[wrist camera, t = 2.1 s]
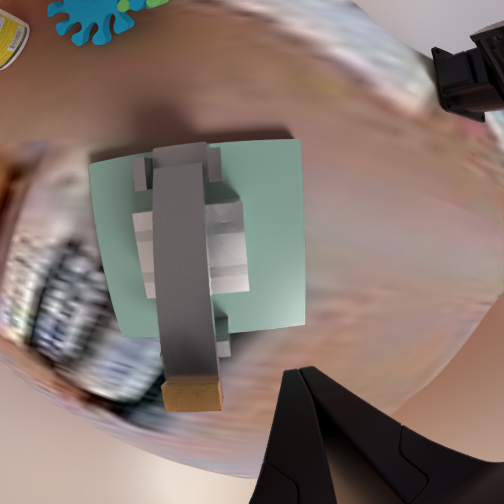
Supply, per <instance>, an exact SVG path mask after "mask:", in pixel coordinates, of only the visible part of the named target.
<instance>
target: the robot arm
mask: <svg viewBox="0 0 504 504" xmlns="http://www.w3.org/2000/svg"><path fill="white" fill-rule="evenodd" d="M470 38H471V39H472V41H473V42H475V44H476V46H477V47H476V48H473V49H470V50H467V51H465V52H464V51H462V52H460V53H457V54H454V55H453V54H451V53H449V52H447V51H444V50H442V49H439V48H437V47H434V48H432V49H431V51H432V55H433V60H434V64H435V69H436V73H437V78H438V83H439V89H440V95H441V101H442V107H443V109H444V110H445V111H446V112H449V113H453V114H456V115H459V116H463V117H466V118H469V119H472V120H475V121H477V122H480V123H483V122H485V113H484V112H489V111H501V110H504V21H501V22H498V23H495V24H493V25H490V26H487V27H485V28H483V29H481V30H479V31H478V32H476V33H474V34H472V35H471V36H470ZM447 106H448V107H447ZM249 504H504V462H489V461H484V460H480V459H477V458H475V457H472V456H469V455H465V454H463V453H460V452H458V451H455V450H453V449H450V448H447V447H445V446H443V445H440V444H438V443H436V442H434V441H431V440H429V439H427V438H426V437H424V436H422V435H420V434H418V433H416V432H414V431H412V430H411V429H409V428H408V427H406V426H404V425H402V426H401V423H399V422H397V421H396V420H394V419H393V418H391V417H389V416H388V415H386V414H385V413H383V412H381V411H380V410H378V409H377V408H375V407H374V406H372V405H370V404H369V403H367V402H366V401H364V400H363V399H361V398H360V397H358V396H357V395H355V394H354V393H352V392H351V391H349V390H348V389H346V388H345V387H343V386H342V385H340V384H339V383H337V382H336V381H334V380H333V379H331V378H330V377H328V376H327V375H326V374H324V373H323V372H321V371H320V370H318V369H317V368H316V367H314V366H308V367H302V368H300V369H299V370H298V369H290V370H285V371H284V372H283V377H282V382H281V387H280V392H279V396H278V401H277V405H276V410H275V414H274V419H273V423H272V427H271V431H270V436H269V440H268V444H267V448H266V452H265V456H264V460H263V463H262V467H261V470H260V474H259V477H258V480H257V484H256V487H255V490H254V492H253V495H252V497H251V499H250V501H249Z"/></svg>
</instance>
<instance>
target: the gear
mask: <svg viewBox="0 0 504 504" xmlns="http://www.w3.org/2000/svg"><path fill="white" fill-rule="evenodd" d="M168 1H169V0H64V4H63V3H62V2H61V1H56V2H54V3H51V4H49V5H48V16H49V17H52V16H54V15H56V14H58V13H60V12H65V13H68V14H69V16H70V19H69V20H68V19H67V20H64V21H62V22H60V23H58V24H57V25H56V26H55V27H56V30H57V33H58V34H59V36H61V35H64V34H65V33H67V32H69V31H70V30H71V28H72V27H73V25H74V24H75V23H76V22H80V23H81V24H82V30H81V31H80V32H78V33H76V34H74V35H73V36H72V39H71V41H72V42H73V43H74V44H76V45H78V46H81V45H83V44H85V43H86V42H88V40H89V34H90V30H91V28H92V26H93V25H94V24H95V23H97V24H98V27H99V29H98V31H97V32H96V34H95V35H94V36H93V39H92V41H93V44H96V45H104V44H106V43H108V42H110V41H111V39H112V34H111V32H110V28H109V22H110V18H111V15H112V14H114V15H115V18H116V20H115V23H114V31H115V33H117V34H118V33H122V32H124V31H126V30H128V29H130V28H132V27H133V26H135V22H134V20H133V18H131V17H130V16H129V15H128V14H127V13H126V11H128V10H131V9H132V10H134V11H138V10H141V9H143V8H145V9H152V8H155V7H158V6H160V5H162V4H165V3H167V2H168Z"/></svg>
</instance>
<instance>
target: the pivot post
mask: <svg viewBox="0 0 504 504" xmlns="http://www.w3.org/2000/svg"><path fill="white" fill-rule="evenodd" d="M153 156H154V167H153V158H148V157H140V158H134V159H132V162H133V174H134V185H135V192H137V191H144V190H149V189H153V169H157V168H164V167H171V166H179V165H187V164H195V163H202V164H203V168H204V180H209V183H210V182H220V181H223V170H222V157H221V149H220V147H214V148H210V146H209V144H208V143H207V142H196V143H188V144H180V145H173V146H166V147H160V148H153Z"/></svg>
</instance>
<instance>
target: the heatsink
mask: <svg viewBox="0 0 504 504" xmlns="http://www.w3.org/2000/svg"><path fill="white" fill-rule="evenodd" d="M205 203H206V221H207V237H208V252H209V265H210V278H211V290H212V294H220V293H232V292H243V291H249V281H248V268H247V255H246V242H245V229H244V216H243V202H242V200H241V198H240V197H239V198H227V199H216V200H205ZM132 215H133V223H134V230H135V236H136V242H137V248H138V254H139V259H140V265H141V270H142V275H143V280H144V285H145V289H146V294H147V298H156V294H155V279H154V261H153V226H152V207H146V208H144V209H142V210H139V211H137V212H135V213H133V214H132Z"/></svg>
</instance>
